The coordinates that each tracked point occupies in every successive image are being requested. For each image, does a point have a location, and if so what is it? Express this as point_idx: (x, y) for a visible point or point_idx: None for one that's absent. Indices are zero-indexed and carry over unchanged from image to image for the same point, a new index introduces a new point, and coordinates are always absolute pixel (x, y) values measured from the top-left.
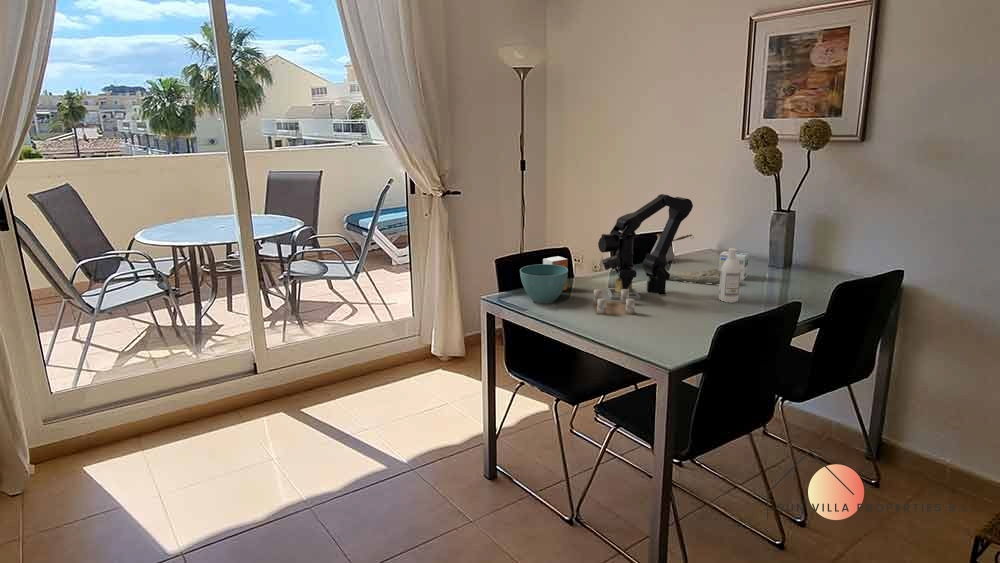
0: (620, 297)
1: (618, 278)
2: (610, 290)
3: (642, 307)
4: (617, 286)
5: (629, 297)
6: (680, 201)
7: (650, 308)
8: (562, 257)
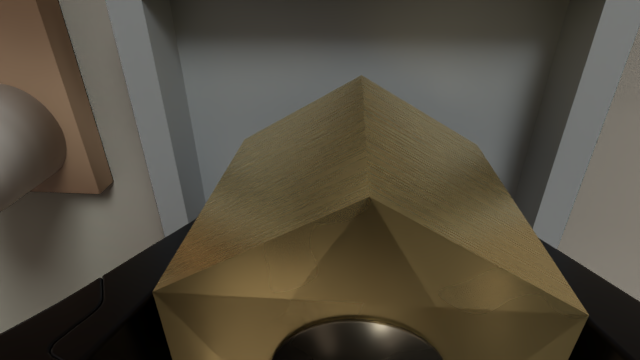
0: (144, 116)
1: (483, 292)
2: (586, 14)
3: (25, 268)
4: (295, 150)
5: (167, 224)
6: None
7: (22, 314)
8: None
